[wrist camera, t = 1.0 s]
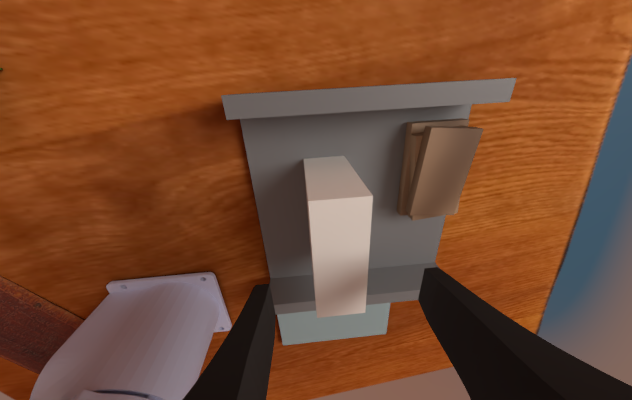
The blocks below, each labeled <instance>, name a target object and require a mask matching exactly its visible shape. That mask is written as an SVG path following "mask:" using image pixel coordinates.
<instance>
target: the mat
mask: <svg viewBox="0 0 632 400" xmlns="http://www.w3.org/2000/svg"><path fill="white" fill-rule="evenodd" d="M389 309H390V303H382V304H372V305H366V310H365V313H359V314H349V315H340V316H331V317H321V318H317V312H316V311H307V312H297V313H288V314H278V315H277V316H278V322H279V327H280V332H281V337H282V343H283V345H291V344H300V343H309V342H318V341H327V340H335V339H344V338H353V337H362V336H371V335H380V334H386V331H387V324H388V316H389Z"/></svg>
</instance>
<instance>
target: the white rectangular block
mask: <svg viewBox="0 0 632 400" xmlns="http://www.w3.org/2000/svg"><path fill="white" fill-rule="evenodd" d="M304 171H305V184H306V197H307V209H308V222H309V235H310V247H311V258H312V269H313V280H314V291H315V301H316V312H317V318H321V317H331V316H340V315H349V314H359V313H365V310H366V295H367V280H368V265H369V250H370V234H371V219H372V204H373V195H372V194H371V192H370V191H369V190H368V188H367V187H366V185H365V184H364V183H363V181H362V180H361V179H360V177H359V176H358V174H357V173H356V172H355V170H354V169H353V167H352V166H351V165H350V163H349V162H348V161H347V159H346V158H345V156H335V157H321V158H307V159H304Z"/></svg>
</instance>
